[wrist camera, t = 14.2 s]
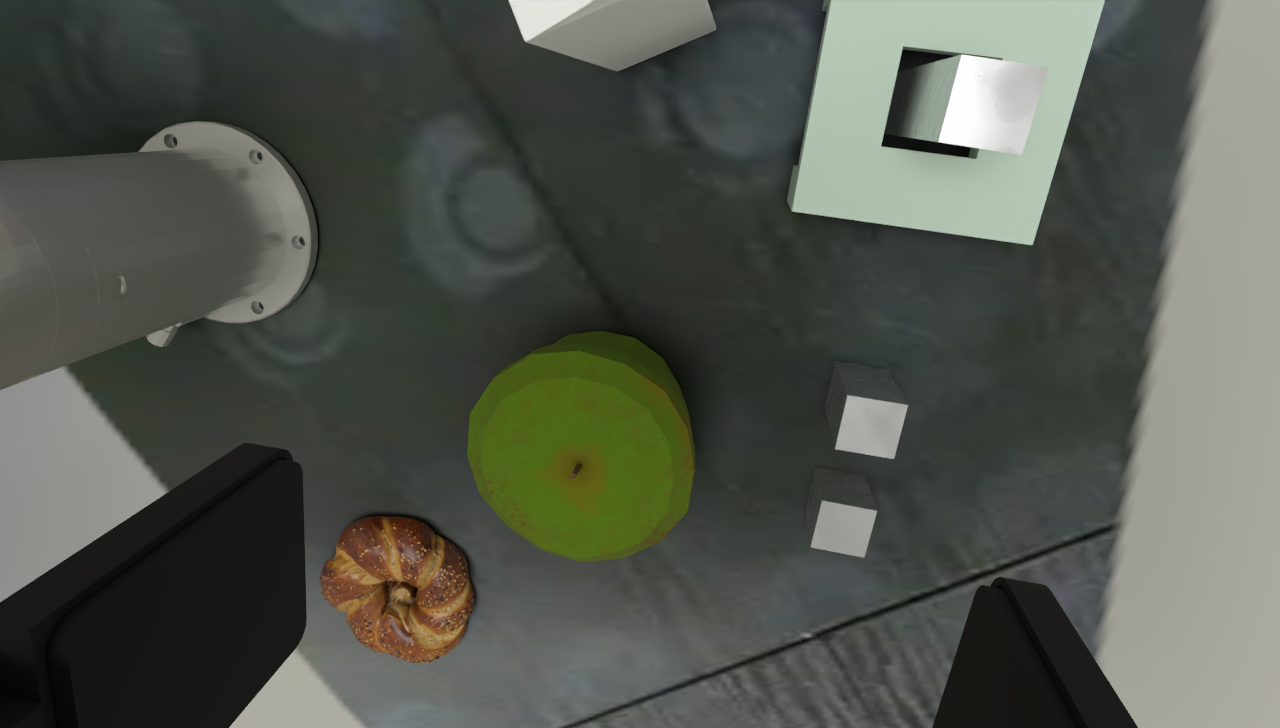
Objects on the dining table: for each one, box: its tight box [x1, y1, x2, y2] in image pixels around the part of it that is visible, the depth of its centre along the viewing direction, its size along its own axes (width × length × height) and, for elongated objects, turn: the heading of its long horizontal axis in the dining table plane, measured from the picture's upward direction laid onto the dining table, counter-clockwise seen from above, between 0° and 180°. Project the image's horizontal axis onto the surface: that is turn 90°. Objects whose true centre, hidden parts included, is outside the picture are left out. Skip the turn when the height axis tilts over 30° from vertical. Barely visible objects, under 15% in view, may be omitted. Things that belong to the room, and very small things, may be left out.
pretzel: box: [320, 516, 474, 663], centre depth 54 cm, size 12×11×4 cm
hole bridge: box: [787, 0, 1105, 245], centre depth 39 cm, size 12×12×5 cm
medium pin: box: [825, 361, 908, 459], centre depth 44 cm, size 3×3×6 cm
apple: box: [467, 331, 696, 562], centre depth 44 cm, size 12×12×11 cm
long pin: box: [884, 54, 1049, 155], centre depth 35 cm, size 3×3×13 cm
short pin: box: [805, 467, 877, 558], centre depth 47 cm, size 3×3×4 cm
